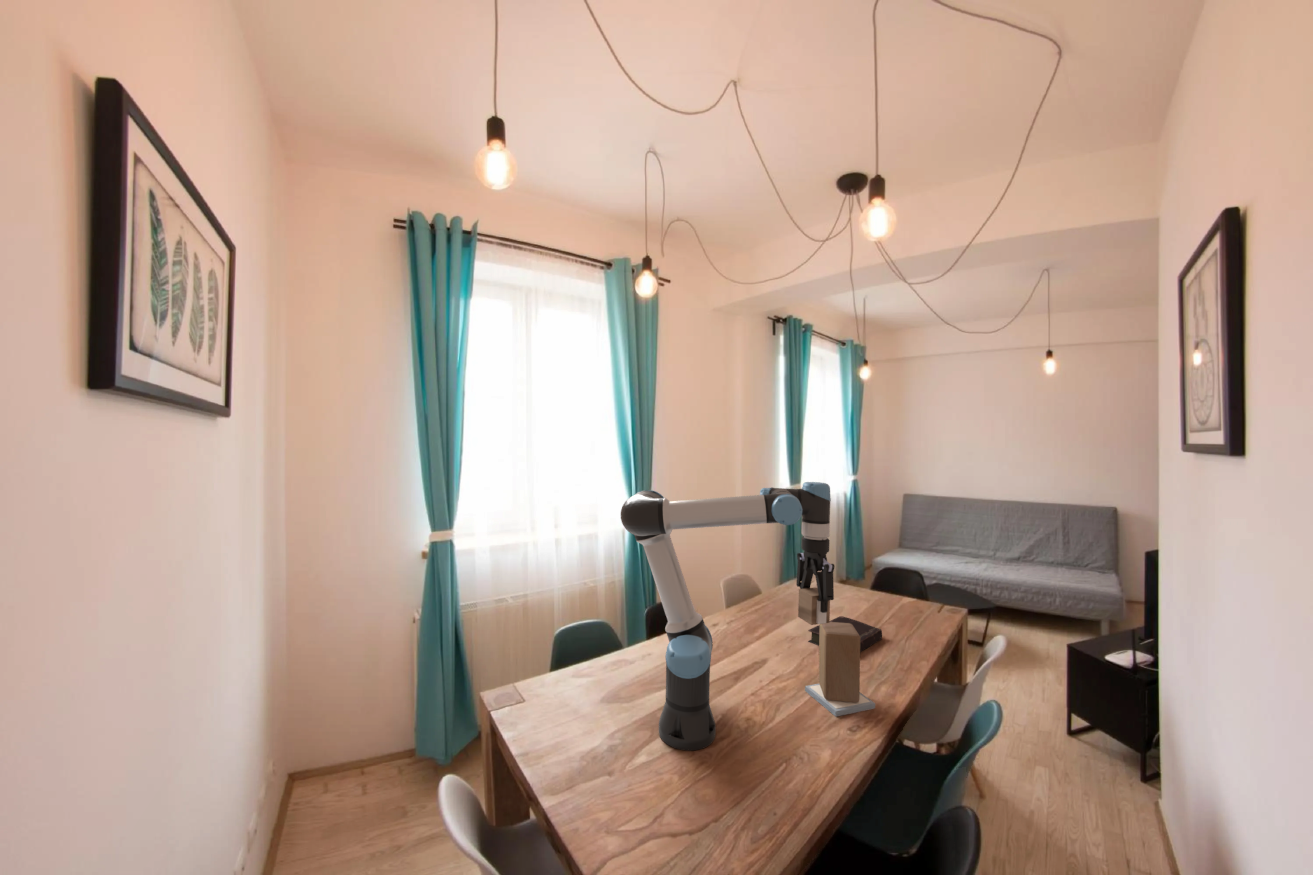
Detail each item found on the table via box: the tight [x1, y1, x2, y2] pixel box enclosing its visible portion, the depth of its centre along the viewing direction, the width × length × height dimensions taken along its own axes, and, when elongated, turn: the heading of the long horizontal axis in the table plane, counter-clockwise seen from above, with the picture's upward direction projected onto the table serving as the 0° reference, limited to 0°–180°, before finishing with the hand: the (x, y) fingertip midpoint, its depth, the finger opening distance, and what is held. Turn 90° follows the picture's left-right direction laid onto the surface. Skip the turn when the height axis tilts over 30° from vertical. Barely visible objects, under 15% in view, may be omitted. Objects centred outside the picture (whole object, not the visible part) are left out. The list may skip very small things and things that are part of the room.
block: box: [818, 622, 861, 703], centre depth 140 cm, size 10×10×20 cm
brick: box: [797, 586, 831, 626], centre depth 131 cm, size 6×6×8 cm
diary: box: [807, 615, 883, 653], centre depth 181 cm, size 19×25×5 cm
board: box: [804, 683, 876, 718], centre depth 140 cm, size 14×14×2 cm
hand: (813, 618), depth 131 cm, fingers closed on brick, 6 cm apart
